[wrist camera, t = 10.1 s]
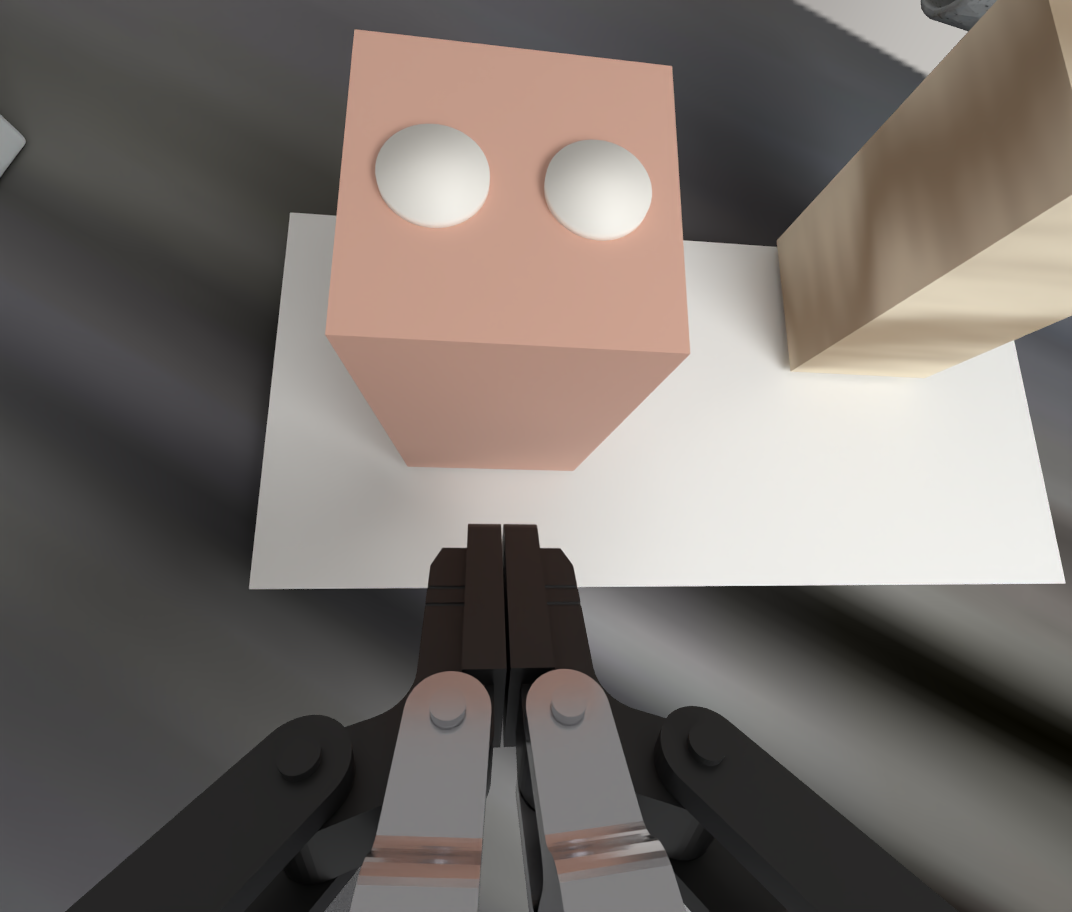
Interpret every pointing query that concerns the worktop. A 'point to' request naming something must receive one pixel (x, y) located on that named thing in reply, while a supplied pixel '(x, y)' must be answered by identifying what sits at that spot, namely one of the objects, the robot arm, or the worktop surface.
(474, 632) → the robot arm
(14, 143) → the product box
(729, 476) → the keypad board
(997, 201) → the key one
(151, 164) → the worktop surface
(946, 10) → the ceramic mug
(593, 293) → the key two
